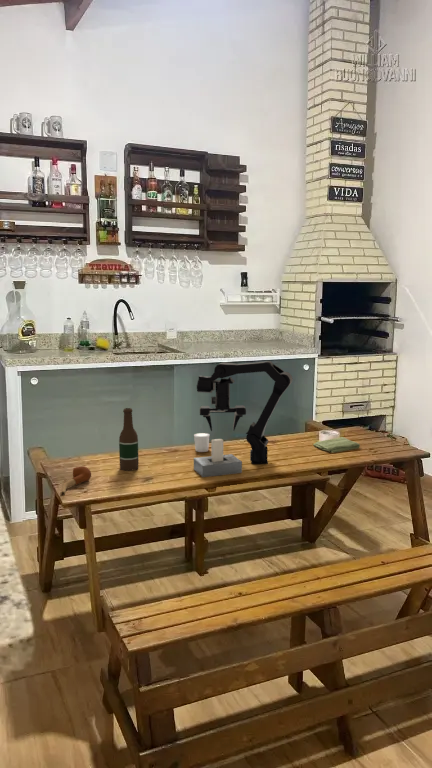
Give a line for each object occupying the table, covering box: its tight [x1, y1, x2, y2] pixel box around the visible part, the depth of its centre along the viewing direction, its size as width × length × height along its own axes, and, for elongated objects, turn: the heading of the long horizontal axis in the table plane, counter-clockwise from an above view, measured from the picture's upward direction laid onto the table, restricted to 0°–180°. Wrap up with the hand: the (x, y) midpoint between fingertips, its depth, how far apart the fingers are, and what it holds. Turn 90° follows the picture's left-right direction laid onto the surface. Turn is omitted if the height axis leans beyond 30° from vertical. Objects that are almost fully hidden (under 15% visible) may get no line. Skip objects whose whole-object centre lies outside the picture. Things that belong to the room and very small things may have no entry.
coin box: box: [193, 453, 243, 478], centre depth 252 cm, size 16×11×4 cm
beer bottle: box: [118, 407, 140, 472], centre depth 254 cm, size 8×8×24 cm
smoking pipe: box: [60, 465, 92, 495], centre depth 234 cm, size 7×18×6 cm, turn 172°
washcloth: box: [313, 436, 361, 454], centre depth 285 cm, size 13×18×3 cm
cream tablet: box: [210, 438, 224, 462], centre depth 251 cm, size 4×2×12 cm, turn 109°
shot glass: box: [193, 432, 211, 453], centre depth 281 cm, size 7×7×7 cm
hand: (222, 430), depth 266 cm, fingers open, 9 cm apart
